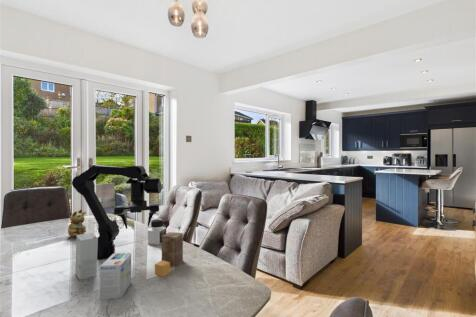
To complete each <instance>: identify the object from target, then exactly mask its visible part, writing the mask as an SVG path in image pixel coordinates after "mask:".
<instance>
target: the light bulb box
mask: <svg viewBox="0 0 476 317" xmlns="http://www.w3.org/2000/svg"><path fill="white" fill-rule="evenodd" d="M131 283H132V252H126V253H125V252H123V253H115V254H112V255H111V256H110V257H109V258H106V260H105V261H103V263H102V264H100V265H99V299H100V300H104V299H105V300H106V299H107V300H108V299H110V300H111V299H121V297H122V296H123V295H124V293H125V292H126V290H127V289H128V288H129V286H131Z"/></svg>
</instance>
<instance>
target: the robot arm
mask: <svg viewBox="0 0 476 317" xmlns="http://www.w3.org/2000/svg"><path fill="white" fill-rule="evenodd" d="M100 175H113V176H123V177H126V178H128V180H127V181H126V182H125V184H129V185H130V201H129V206H126V205H125V204H124V205H122V204H121V205H116V206H115V207H114V209H113V214H114V215H117V217H120V219H122V222H123V224H124V226H125V230H126V229H128V214H127V212H129V213H130V214H134V213H139V214H140V213H142V212H143V211H149V213H148V221H147V228H150V226H151V221H152V218H153V216H154V214H157V212H159V211H160V204H159V203H150V204H149V205H148V201H147V200H145V193H146V194H161V192H162V188H163V187H162V186H163V185H162V182H161V178H160V177H157V178H151V177H150V175H149V174H147V170H146V169H145V167H144V166H143V165H132V166H130V165H129V166H113V165H110V166H109V165H101V164H93V165H91V166H90V167H89V168H88V169H86V170H84V171H83V172H81V173H80V174H79V175H77V176H75V177H73V178H72V181H71V185H72V187H73V188H74V189H75V191H76V192H77V193H79V194H80V195H81V196H82V197H83V199H84V200H85V202H86V204H87V206H88V208H89V209H90V212H91V213H92V216H93V218H94V219H95V221H96V223H97V232H98V235H99V236H97V238H98V250H97V260H105V259H106V260H107V259H108V258H109V257H110V256H111V255H112V254H116V245H115V244H116V243H115V244H114V241H115V240H116V237H118V236H119V233H120V229H119V228H120V226H119V225H118V222H117V220H116V219H113V220H111V219H110V218H109V216H108V213H107V212H106V211H105V210H106V209H104V207H103V205H102V203H101V201H100V199H99V198H98V195H97V193H96V190H95V182H94V181H96V180H97V179H98V178H99V176H100Z"/></svg>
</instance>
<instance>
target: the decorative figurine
mask: <svg viewBox="0 0 476 317" xmlns="http://www.w3.org/2000/svg"><path fill="white" fill-rule="evenodd" d="M86 213H87V212H86V211H84V210H83V211H82V209H78V210H77V211H73V212H72V214H71V215H70V218H69V219H70V224H69V225H68V228H67V233H68V234H67V235H68V236H70V237H71V238H77V235H81V234H86V233H87V230H86V228H87V227H86V225H84V221H85V216H84V215H86Z"/></svg>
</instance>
